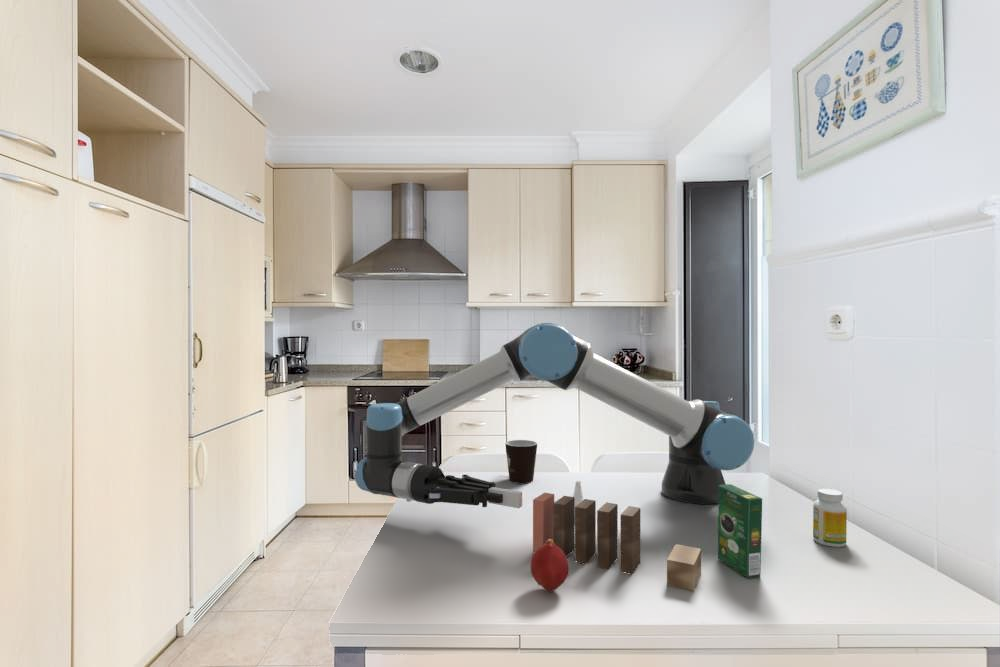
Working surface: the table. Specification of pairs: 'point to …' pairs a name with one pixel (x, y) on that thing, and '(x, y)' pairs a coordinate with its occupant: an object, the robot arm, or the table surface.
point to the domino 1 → (542, 519)
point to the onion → (549, 566)
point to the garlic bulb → (578, 493)
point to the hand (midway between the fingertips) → (520, 499)
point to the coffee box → (740, 530)
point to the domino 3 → (585, 530)
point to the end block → (684, 567)
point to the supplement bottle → (829, 518)
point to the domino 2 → (564, 524)
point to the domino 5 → (630, 539)
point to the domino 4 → (607, 535)
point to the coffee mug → (521, 460)
